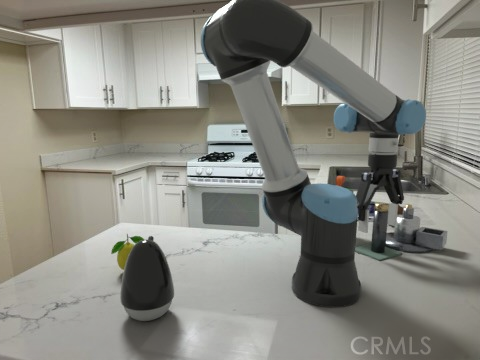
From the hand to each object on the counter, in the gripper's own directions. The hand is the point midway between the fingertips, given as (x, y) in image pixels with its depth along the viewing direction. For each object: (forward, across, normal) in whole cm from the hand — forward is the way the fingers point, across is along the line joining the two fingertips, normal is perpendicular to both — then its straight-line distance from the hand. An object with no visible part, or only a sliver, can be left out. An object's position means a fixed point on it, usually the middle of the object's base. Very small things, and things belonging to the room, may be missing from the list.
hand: (377, 228), depth 103 cm
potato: (+7, +28, +14) cm, 32 cm away
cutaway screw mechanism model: (+7, 0, +16) cm, 18 cm away
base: (+7, +14, 0) cm, 16 cm away
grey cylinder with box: (+6, +15, -3) cm, 17 cm away
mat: (+7, 0, 0) cm, 7 cm away
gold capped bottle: (+7, 0, 0) cm, 7 cm away
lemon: (+7, -65, +23) cm, 69 cm away
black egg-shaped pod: (+7, -67, +1) cm, 67 cm away
